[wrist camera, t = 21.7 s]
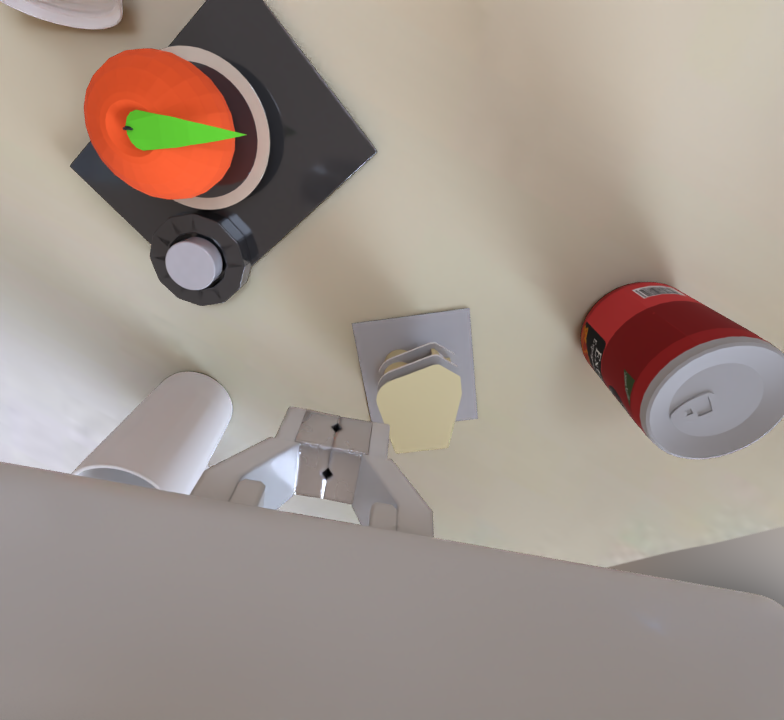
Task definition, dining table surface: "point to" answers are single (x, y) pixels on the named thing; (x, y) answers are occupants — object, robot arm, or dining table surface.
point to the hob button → (194, 263)
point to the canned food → (684, 370)
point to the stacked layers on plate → (418, 376)
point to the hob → (286, 159)
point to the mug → (165, 436)
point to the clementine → (159, 124)
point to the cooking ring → (246, 120)
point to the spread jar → (73, 12)
